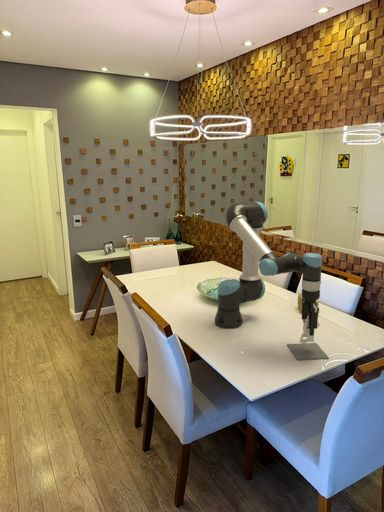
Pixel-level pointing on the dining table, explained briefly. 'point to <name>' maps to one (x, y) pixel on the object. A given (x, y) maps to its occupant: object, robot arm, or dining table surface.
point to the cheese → (301, 302)
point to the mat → (307, 351)
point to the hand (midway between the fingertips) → (308, 338)
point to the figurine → (305, 330)
